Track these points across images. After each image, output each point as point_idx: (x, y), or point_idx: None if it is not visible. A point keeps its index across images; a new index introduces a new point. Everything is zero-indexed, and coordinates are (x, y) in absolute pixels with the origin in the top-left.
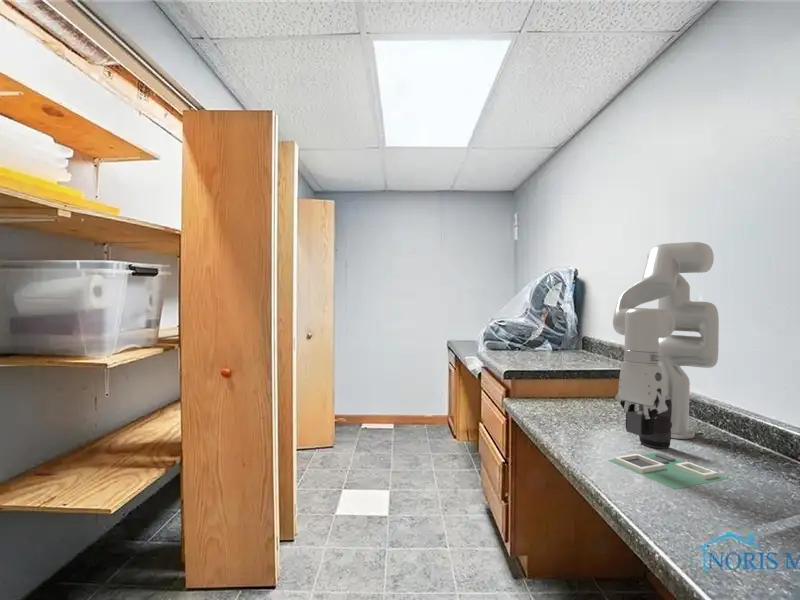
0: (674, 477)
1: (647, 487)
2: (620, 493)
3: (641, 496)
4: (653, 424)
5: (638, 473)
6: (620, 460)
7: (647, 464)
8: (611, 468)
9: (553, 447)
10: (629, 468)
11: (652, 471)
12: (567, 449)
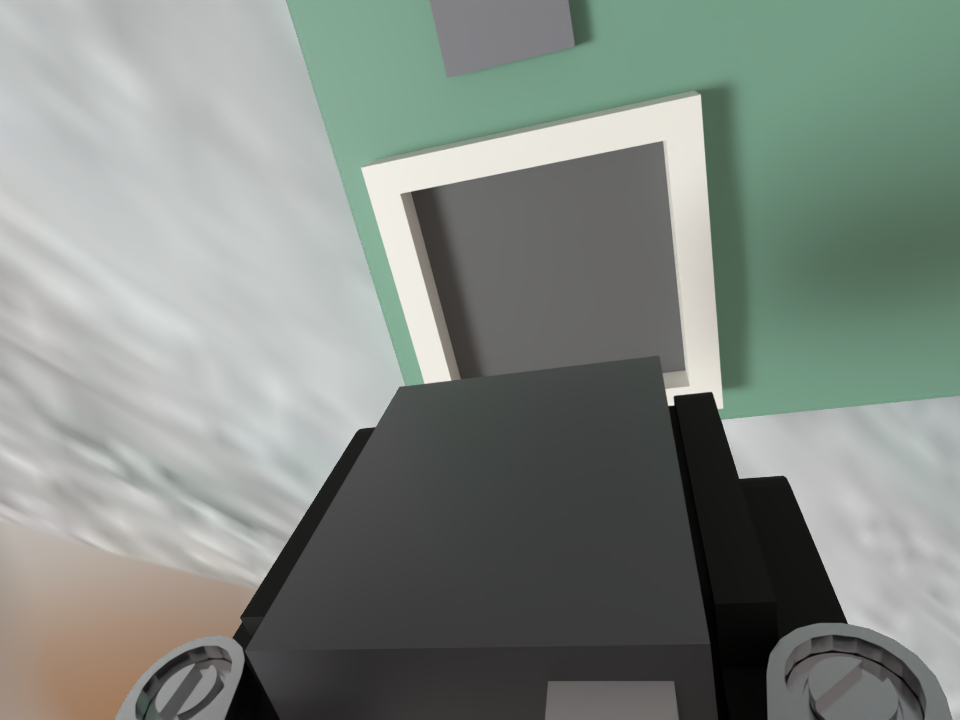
0: (905, 182)
1: (862, 447)
2: None
3: (954, 574)
4: (819, 571)
5: None
6: None
7: (565, 203)
8: None
9: (113, 546)
10: None
11: (715, 278)
12: (138, 491)
